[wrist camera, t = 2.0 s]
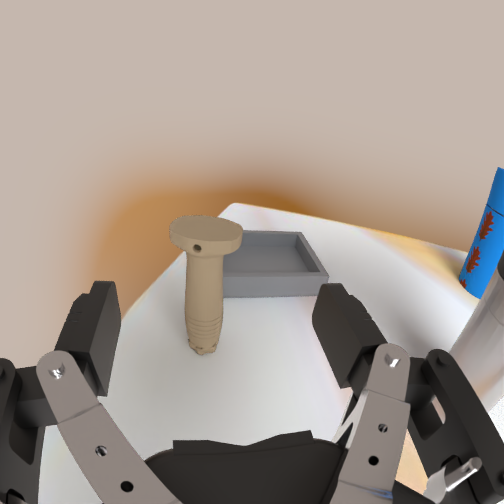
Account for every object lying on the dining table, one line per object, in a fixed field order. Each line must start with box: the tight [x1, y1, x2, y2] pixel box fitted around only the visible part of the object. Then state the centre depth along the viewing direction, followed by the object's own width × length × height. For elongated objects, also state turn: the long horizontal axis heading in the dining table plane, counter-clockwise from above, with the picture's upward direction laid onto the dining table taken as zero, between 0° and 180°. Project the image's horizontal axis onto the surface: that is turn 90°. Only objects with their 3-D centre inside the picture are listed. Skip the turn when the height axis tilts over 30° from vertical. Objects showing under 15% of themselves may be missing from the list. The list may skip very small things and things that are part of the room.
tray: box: [223, 230, 329, 298], centre depth 48 cm, size 16×14×4 cm
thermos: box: [459, 167, 504, 299], centre depth 45 cm, size 11×11×25 cm
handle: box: [170, 215, 243, 355], centre depth 30 cm, size 5×6×15 cm
